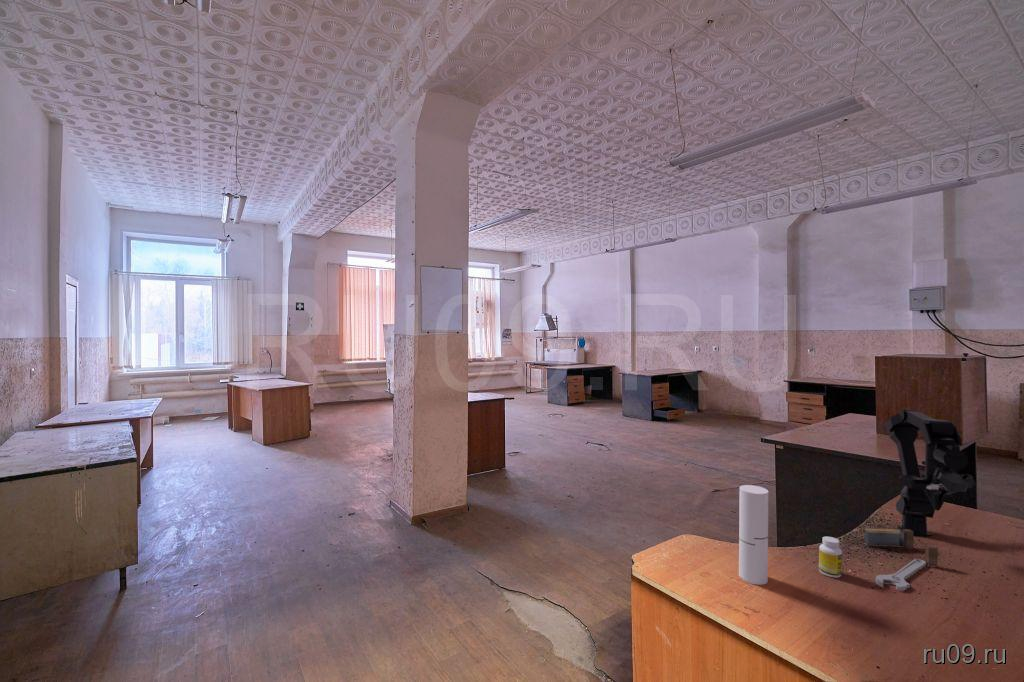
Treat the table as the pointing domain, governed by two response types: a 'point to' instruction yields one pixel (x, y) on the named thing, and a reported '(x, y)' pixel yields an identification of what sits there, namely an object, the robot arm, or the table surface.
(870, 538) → the gate panel
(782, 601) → the table surface
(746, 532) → the cylindrical container
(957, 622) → the table surface
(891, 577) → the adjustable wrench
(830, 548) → the supplement bottle
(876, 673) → the table surface
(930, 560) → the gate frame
